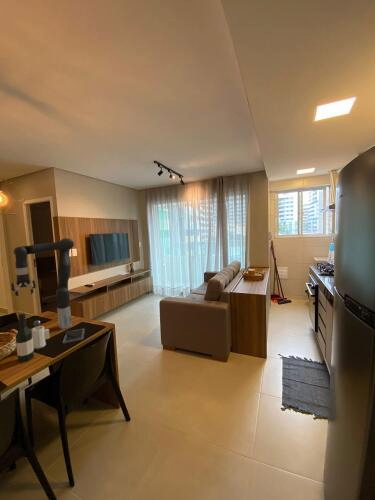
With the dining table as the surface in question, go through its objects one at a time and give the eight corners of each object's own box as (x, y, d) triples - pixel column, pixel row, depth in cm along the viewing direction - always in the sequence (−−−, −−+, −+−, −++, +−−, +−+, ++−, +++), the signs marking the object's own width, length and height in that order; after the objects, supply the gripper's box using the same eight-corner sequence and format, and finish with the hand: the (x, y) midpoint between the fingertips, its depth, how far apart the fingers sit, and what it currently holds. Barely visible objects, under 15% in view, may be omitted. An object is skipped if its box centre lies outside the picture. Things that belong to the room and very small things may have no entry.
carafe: (50, 341, 157) (48, 324, 156) (49, 345, 150) (47, 328, 149) (33, 345, 152) (31, 327, 151) (32, 350, 145) (30, 332, 144)
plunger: (43, 336, 153) (41, 319, 152) (42, 339, 149) (41, 321, 148) (34, 338, 151) (32, 320, 150) (33, 341, 146) (31, 323, 145)
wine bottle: (24, 355, 139) (19, 311, 137) (37, 354, 140) (32, 310, 137) (14, 363, 131) (9, 316, 128) (29, 362, 132) (24, 315, 129)
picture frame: (66, 333, 169) (62, 344, 152) (66, 331, 169) (62, 342, 152) (84, 330, 174) (83, 340, 157) (84, 327, 174) (83, 337, 157)
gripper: (34, 271, 164) (36, 292, 166) (11, 274, 157) (13, 295, 159) (33, 273, 158) (35, 294, 159) (9, 275, 151) (11, 297, 152)
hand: (24, 294), depth 159 cm, fingers open, 8 cm apart
